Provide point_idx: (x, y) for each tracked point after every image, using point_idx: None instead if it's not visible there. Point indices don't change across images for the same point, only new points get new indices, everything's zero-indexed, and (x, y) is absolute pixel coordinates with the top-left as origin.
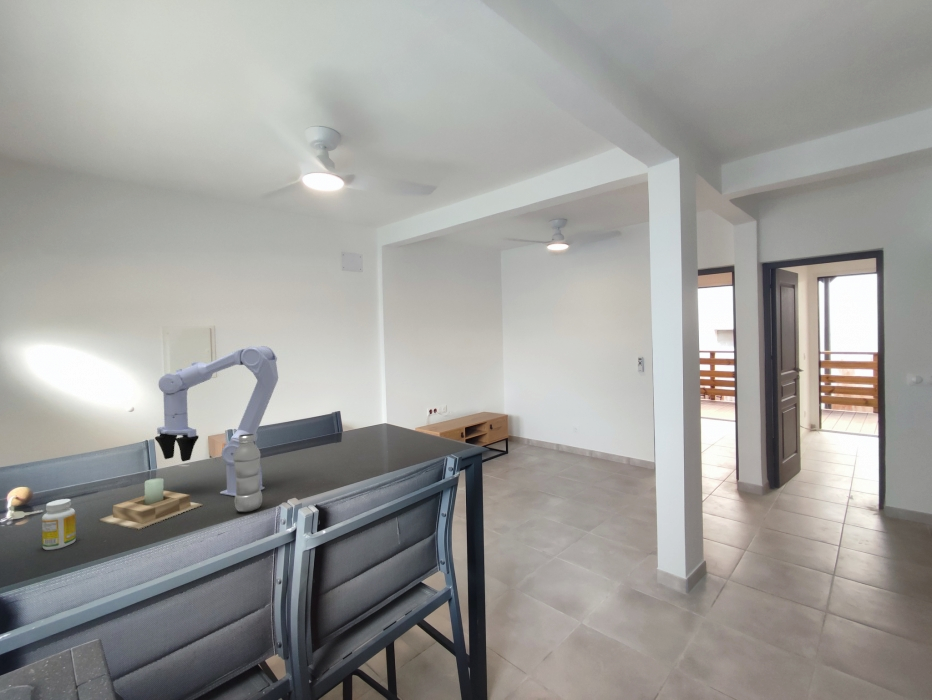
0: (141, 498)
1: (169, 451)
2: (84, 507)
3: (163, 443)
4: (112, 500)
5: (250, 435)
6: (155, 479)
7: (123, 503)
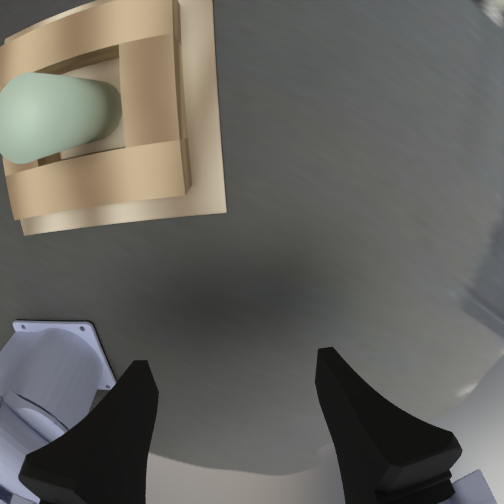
0: (143, 86)
1: (330, 402)
2: (427, 48)
3: (360, 435)
4: (416, 122)
5: None
6: (34, 130)
7: (152, 18)
